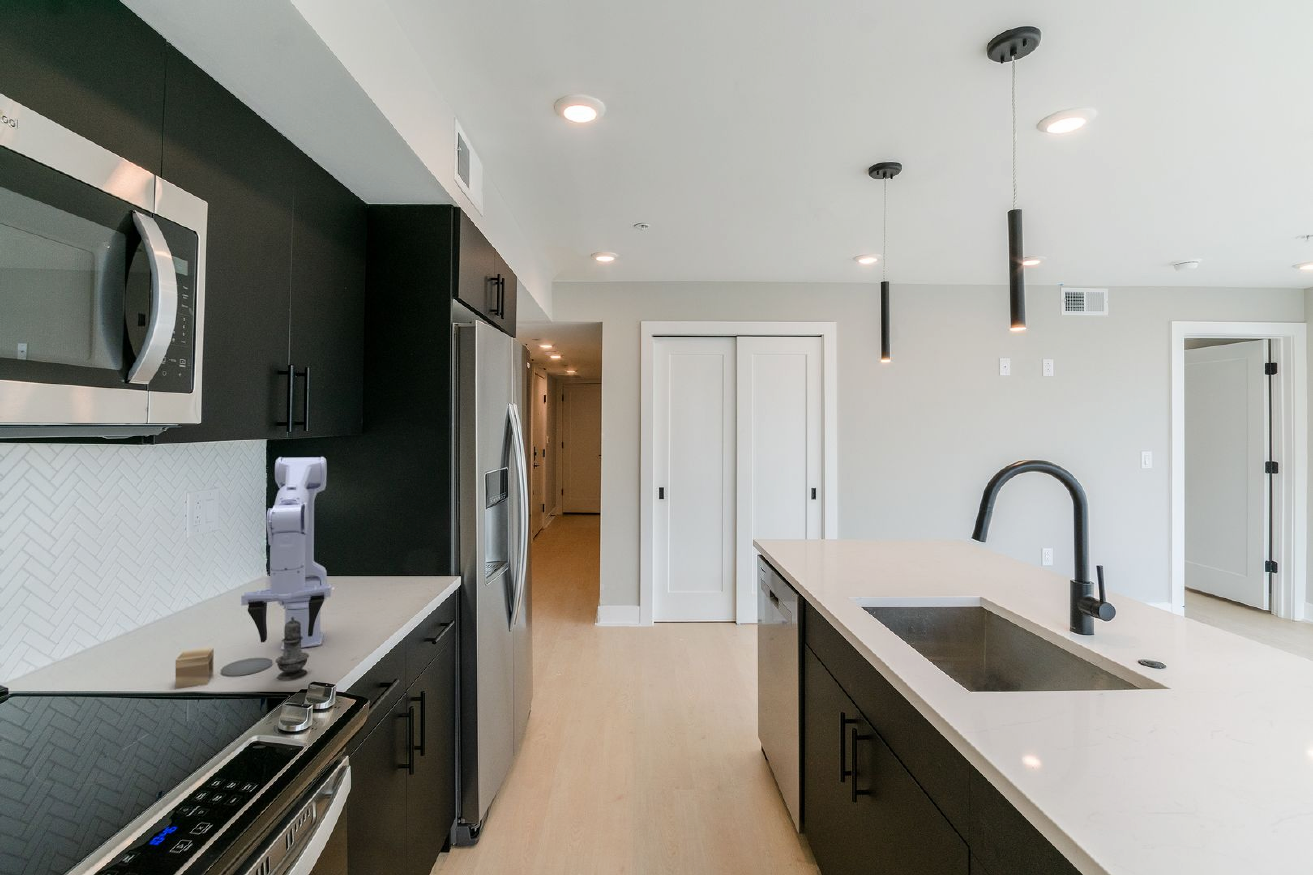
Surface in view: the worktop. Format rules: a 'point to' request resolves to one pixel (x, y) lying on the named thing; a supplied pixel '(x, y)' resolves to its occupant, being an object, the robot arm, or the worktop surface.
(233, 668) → the pad
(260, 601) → the robot arm
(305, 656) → the dark grey stone ornament
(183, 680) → the slotted wooden block
